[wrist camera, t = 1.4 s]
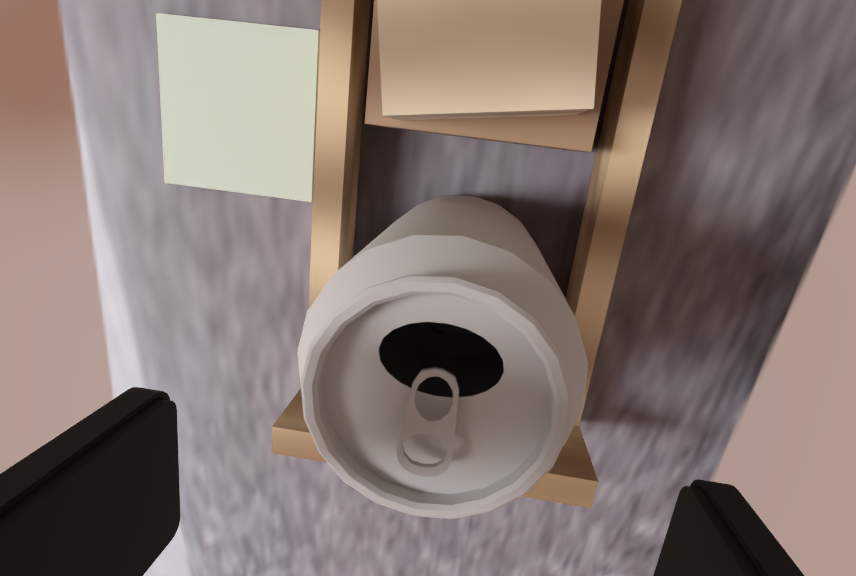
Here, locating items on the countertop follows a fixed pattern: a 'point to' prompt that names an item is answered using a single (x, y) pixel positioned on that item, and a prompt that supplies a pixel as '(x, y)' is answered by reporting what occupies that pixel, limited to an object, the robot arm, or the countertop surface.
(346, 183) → the frame
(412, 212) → the can
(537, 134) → the offcut large
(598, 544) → the countertop surface
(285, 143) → the mat
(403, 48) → the offcut small
